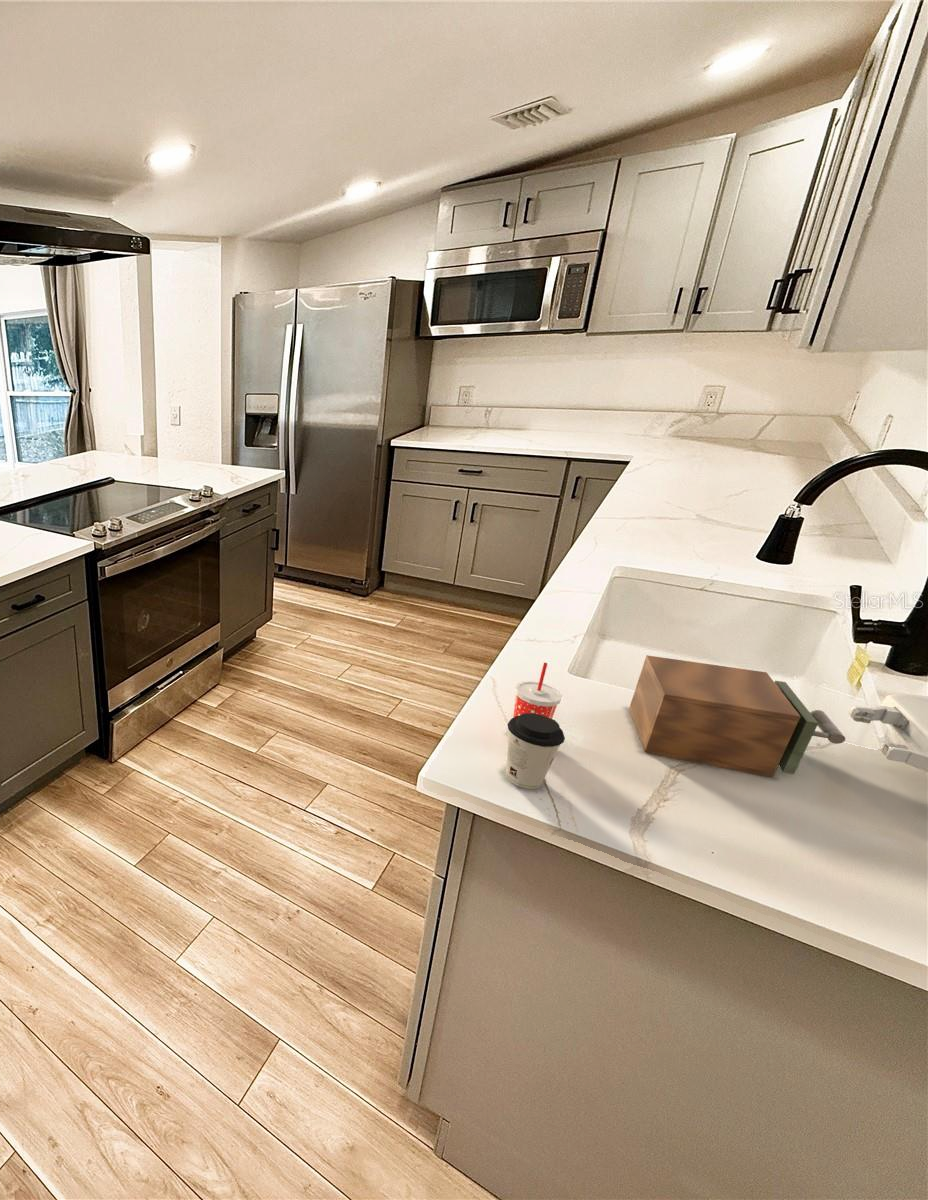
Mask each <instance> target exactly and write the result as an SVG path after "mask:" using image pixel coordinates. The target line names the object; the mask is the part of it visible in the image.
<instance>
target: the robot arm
mask: <svg viewBox="0 0 928 1200" xmlns="http://www.w3.org/2000/svg"><path fill="white" fill-rule="evenodd" d="M848 715H849V717H851V719H852V720H853V721H854V722H858V723H864V724H870V723H871V721H872V722H873V721H874V722H875V721H876V722H877V721H878V722H879V721H880V722H881V723H882V724H887V725H889V726H890V727H891V728H892V729H893V731H894V732H896V733H897V735H899V736H900V737H901V739H902V740H903V741H904V742H905V743H907V745H908V746H909V747H910V748H911V749H910V748H908V747H907V746H906V745H904V744H897V743H891V742H887V743H885V744H884V745H883V748H881V753H882V754H883V755H884V756H885V758H886V759H887V760H889V761H893V762H899V763H905V764H906V765H909V766H912V767H914V768H916V769H919V770H921V771H924V772H927V773H928V695H921V694H920V695H919V694H912V693H911V694H910V693H902V692H901V693H898V692H897V693H892V694H888V695H886V696H885V697H884V699H883V701H882V703H881V704H880V706H879V705H878V706H872V707H865V706H859V705H854V706H852V707H851V708H850V710H849V712H848Z"/></svg>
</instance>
